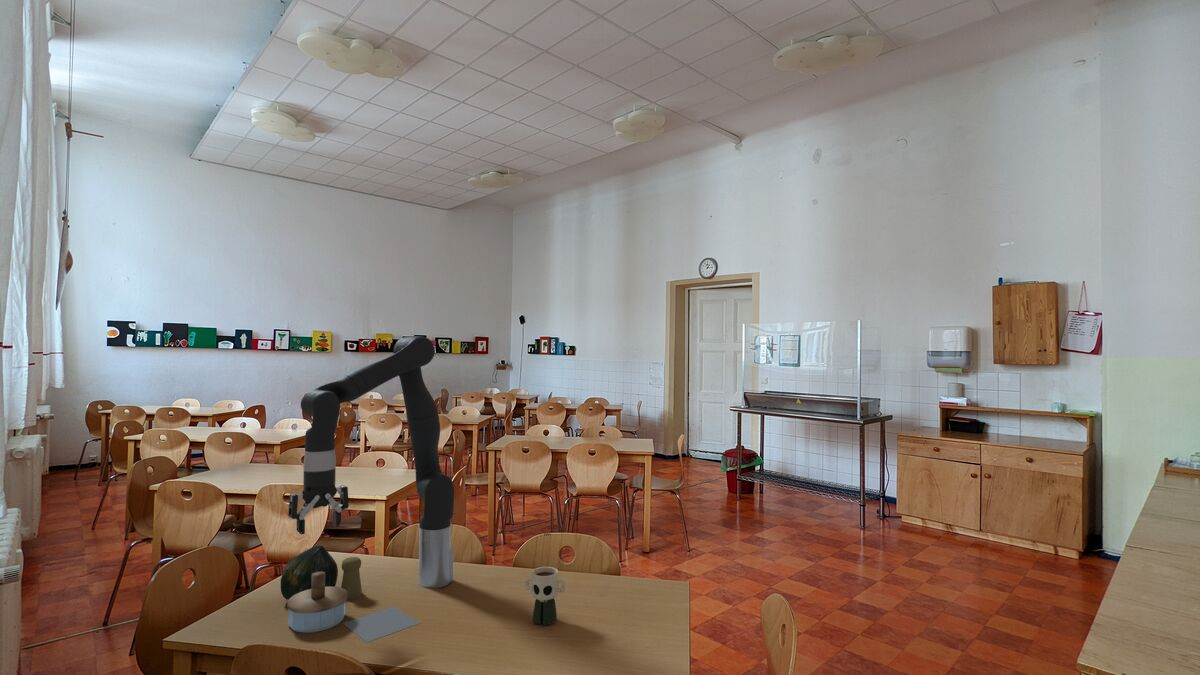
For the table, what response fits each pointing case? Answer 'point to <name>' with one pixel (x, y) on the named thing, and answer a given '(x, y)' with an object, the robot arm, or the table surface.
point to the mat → (380, 624)
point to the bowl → (316, 619)
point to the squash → (308, 571)
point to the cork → (351, 577)
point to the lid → (317, 596)
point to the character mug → (545, 593)
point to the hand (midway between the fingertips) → (319, 530)
